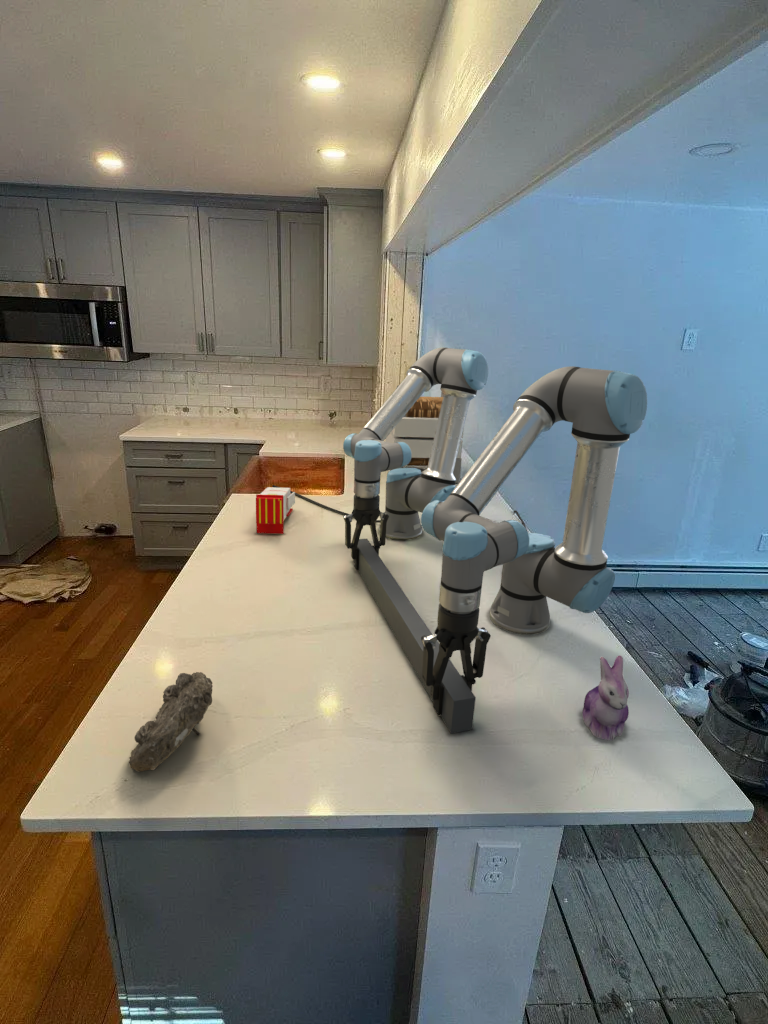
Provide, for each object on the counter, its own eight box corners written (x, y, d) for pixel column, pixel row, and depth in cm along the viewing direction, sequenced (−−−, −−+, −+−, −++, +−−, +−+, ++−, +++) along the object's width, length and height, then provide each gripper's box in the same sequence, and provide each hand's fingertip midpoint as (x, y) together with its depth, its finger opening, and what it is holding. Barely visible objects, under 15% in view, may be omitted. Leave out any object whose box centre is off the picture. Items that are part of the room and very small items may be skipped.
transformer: (382, 463, 289) (386, 382, 275) (445, 464, 293) (451, 384, 279) (390, 482, 257) (394, 392, 243) (460, 483, 261) (468, 394, 247)
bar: (352, 561, 176) (353, 539, 174) (366, 560, 178) (367, 538, 175) (450, 733, 107) (453, 701, 104) (472, 729, 108) (475, 697, 105)
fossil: (162, 673, 113) (214, 640, 108) (196, 704, 116) (248, 673, 111) (102, 765, 93) (163, 730, 88) (145, 799, 96) (206, 767, 91)
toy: (297, 482, 219) (286, 496, 190) (297, 516, 222) (286, 535, 193) (265, 481, 219) (249, 495, 189) (265, 515, 221) (250, 534, 192)
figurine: (608, 750, 104) (623, 681, 99) (567, 715, 113) (579, 651, 107) (643, 734, 108) (659, 668, 103) (601, 702, 117) (614, 640, 112)
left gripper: (339, 500, 158) (339, 575, 166) (399, 496, 163) (395, 570, 171) (334, 492, 164) (333, 564, 172) (391, 488, 169) (388, 559, 177)
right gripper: (421, 621, 99) (414, 729, 107) (511, 609, 104) (497, 713, 112) (407, 600, 105) (401, 703, 113) (492, 590, 110) (481, 690, 118)
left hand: (364, 567), depth 172 cm, fingers closed on bar, 4 cm apart
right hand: (449, 708), depth 112 cm, fingers closed on bar, 4 cm apart
